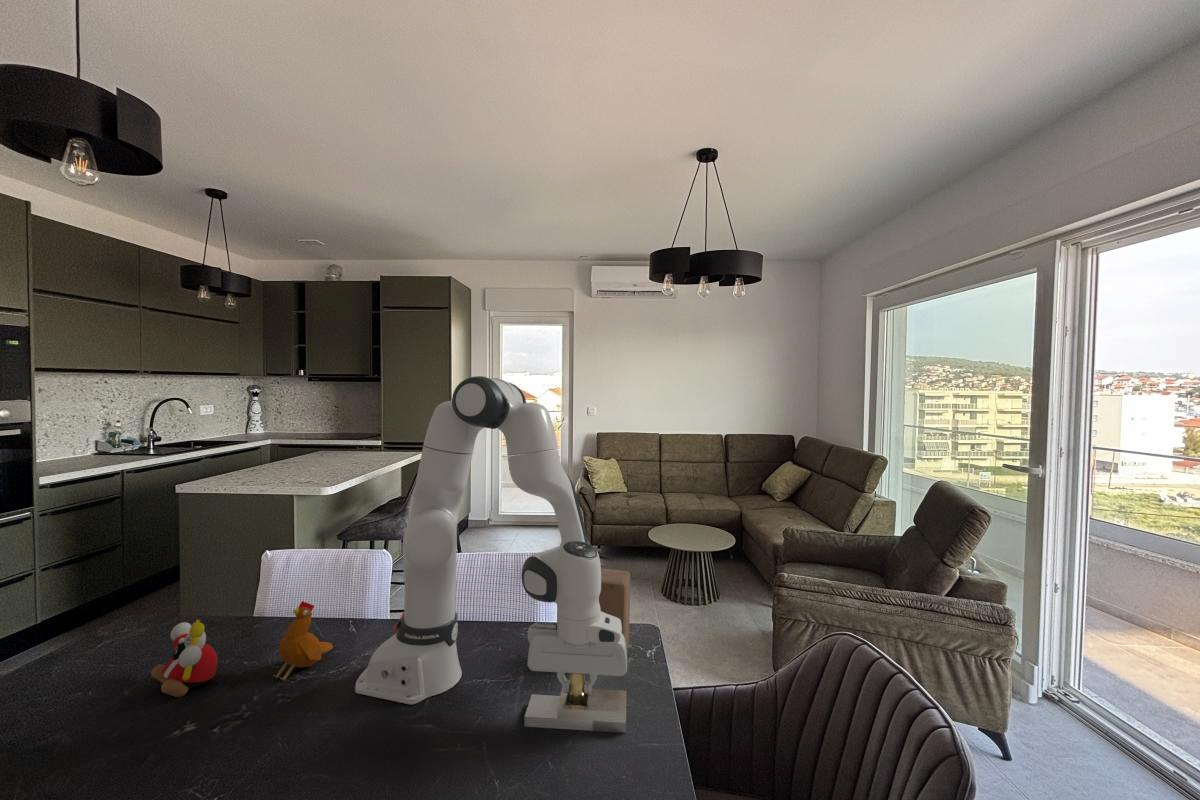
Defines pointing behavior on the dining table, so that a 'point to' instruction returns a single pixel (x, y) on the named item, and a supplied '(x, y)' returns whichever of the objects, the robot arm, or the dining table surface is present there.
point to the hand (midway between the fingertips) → (577, 691)
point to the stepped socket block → (579, 711)
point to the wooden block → (616, 597)
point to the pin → (577, 689)
